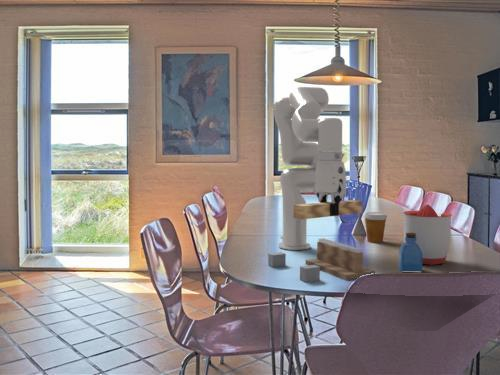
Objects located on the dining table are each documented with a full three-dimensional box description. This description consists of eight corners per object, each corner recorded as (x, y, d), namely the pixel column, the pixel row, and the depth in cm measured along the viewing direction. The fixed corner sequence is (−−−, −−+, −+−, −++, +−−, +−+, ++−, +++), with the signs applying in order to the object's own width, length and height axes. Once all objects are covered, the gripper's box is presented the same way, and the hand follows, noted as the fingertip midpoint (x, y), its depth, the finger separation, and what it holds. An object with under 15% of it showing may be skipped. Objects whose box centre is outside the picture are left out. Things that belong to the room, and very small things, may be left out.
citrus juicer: (460, 260, 162) (461, 203, 161) (438, 269, 150) (440, 208, 149) (417, 253, 174) (418, 200, 172) (394, 261, 161) (395, 204, 160)
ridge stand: (305, 264, 158) (305, 239, 157) (332, 260, 162) (332, 236, 162) (346, 280, 138) (346, 251, 137) (374, 275, 143) (375, 248, 142)
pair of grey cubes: (268, 265, 156) (268, 253, 156) (281, 263, 159) (281, 252, 158) (305, 282, 136) (305, 268, 136) (319, 280, 138) (319, 266, 138)
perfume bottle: (422, 273, 146) (422, 235, 145) (401, 272, 147) (402, 235, 146) (418, 268, 152) (419, 232, 151) (398, 267, 153) (399, 231, 152)
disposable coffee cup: (389, 243, 193) (390, 214, 192) (366, 243, 193) (367, 215, 192) (382, 239, 202) (383, 212, 202) (361, 239, 202) (361, 212, 202)
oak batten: (352, 211, 157) (353, 199, 157) (361, 212, 154) (362, 200, 154) (293, 217, 143) (293, 205, 142) (301, 219, 139) (302, 206, 139)
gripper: (357, 157, 142) (357, 217, 143) (320, 157, 156) (320, 211, 157) (340, 158, 138) (339, 219, 139) (303, 157, 152) (303, 213, 153)
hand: (329, 214), depth 148 cm, fingers closed on oak batten, 4 cm apart
